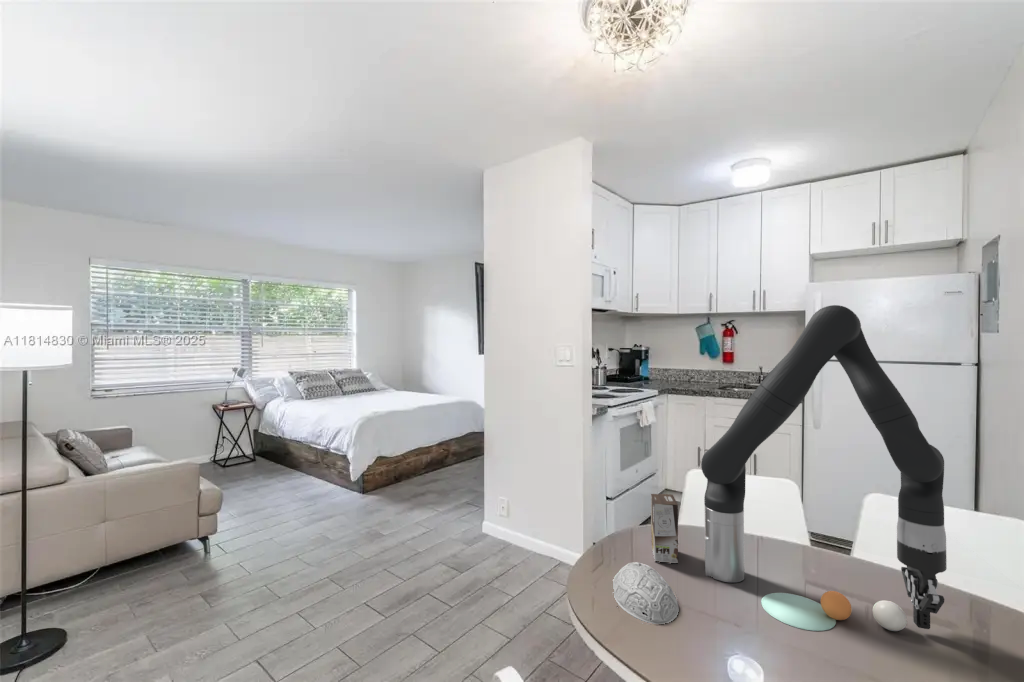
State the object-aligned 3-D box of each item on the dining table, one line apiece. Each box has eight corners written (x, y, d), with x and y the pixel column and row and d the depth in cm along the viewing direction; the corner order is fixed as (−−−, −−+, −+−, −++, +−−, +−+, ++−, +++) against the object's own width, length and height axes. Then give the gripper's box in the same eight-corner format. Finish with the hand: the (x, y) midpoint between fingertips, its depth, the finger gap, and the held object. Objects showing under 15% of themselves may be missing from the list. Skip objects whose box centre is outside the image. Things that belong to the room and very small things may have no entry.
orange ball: (851, 630, 95) (821, 618, 97) (843, 615, 100) (815, 605, 102) (858, 605, 95) (827, 594, 97) (849, 592, 100) (820, 582, 102)
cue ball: (917, 619, 91) (905, 642, 92) (903, 602, 96) (892, 624, 97) (885, 605, 92) (874, 628, 93) (874, 590, 98) (863, 612, 98)
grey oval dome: (619, 625, 96) (622, 593, 96) (603, 572, 121) (605, 546, 121) (694, 635, 95) (696, 603, 95) (661, 579, 120) (664, 554, 120)
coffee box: (679, 564, 122) (678, 504, 122) (654, 562, 124) (653, 503, 124) (674, 549, 131) (673, 493, 131) (650, 547, 133) (650, 492, 133)
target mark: (766, 622, 97) (766, 621, 97) (757, 588, 110) (757, 588, 110) (844, 637, 92) (844, 636, 92) (825, 600, 105) (825, 599, 105)
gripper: (885, 526, 100) (886, 605, 100) (912, 552, 88) (913, 642, 88) (928, 531, 98) (929, 612, 98) (962, 559, 85) (963, 651, 85)
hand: (921, 626), depth 93 cm, fingers closed
